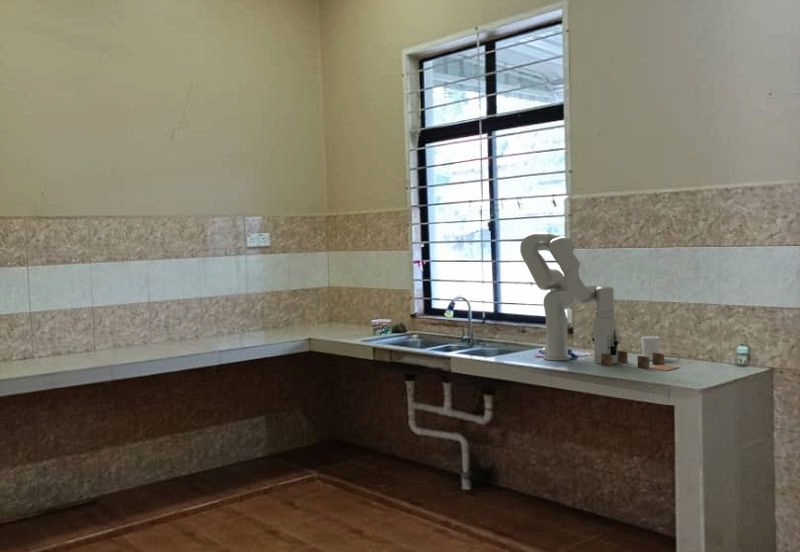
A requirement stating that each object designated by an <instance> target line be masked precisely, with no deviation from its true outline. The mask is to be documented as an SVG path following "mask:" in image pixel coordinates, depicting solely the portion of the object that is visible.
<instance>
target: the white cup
mask: <svg viewBox="0 0 800 552" xmlns="http://www.w3.org/2000/svg"><path fill="white" fill-rule="evenodd" d="M660 338H661V337H659V336H657V335H656V336H655V335H645V336H644V335H643V336H641V337H640V339H641V341H640V342H641V353H642V356H645V357H649V361H653V355H652V353H660V342H661V341H660Z"/></svg>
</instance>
